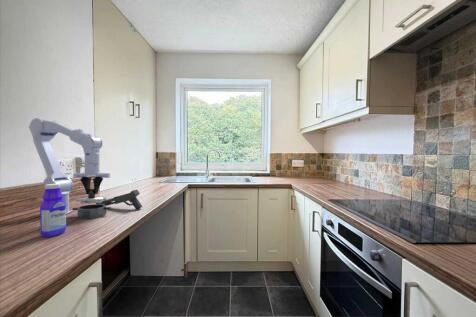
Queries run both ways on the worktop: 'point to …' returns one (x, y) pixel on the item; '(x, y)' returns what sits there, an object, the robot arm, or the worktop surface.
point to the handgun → (124, 198)
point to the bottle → (52, 211)
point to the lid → (91, 198)
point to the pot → (91, 211)
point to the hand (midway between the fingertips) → (92, 193)
